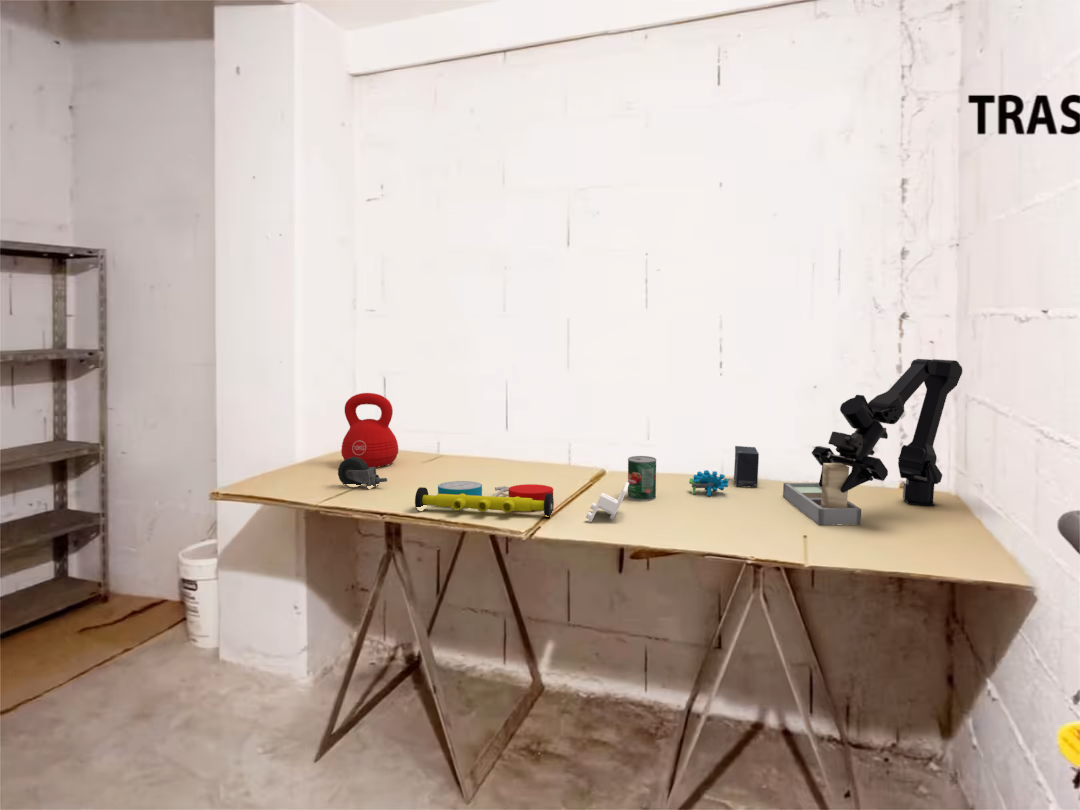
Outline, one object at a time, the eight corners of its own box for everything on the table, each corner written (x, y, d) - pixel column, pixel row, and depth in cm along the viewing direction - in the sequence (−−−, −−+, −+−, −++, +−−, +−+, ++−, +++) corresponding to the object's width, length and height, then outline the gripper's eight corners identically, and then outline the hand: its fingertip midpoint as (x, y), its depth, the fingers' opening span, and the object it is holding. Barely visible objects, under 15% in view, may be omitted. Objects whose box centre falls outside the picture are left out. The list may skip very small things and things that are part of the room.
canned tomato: (661, 496, 194) (662, 458, 193) (645, 502, 188) (645, 463, 187) (638, 491, 200) (638, 454, 198) (621, 497, 194) (622, 459, 192)
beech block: (821, 505, 173) (823, 463, 172) (839, 505, 173) (841, 463, 172) (828, 511, 169) (830, 467, 167) (846, 511, 169) (849, 467, 167)
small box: (758, 488, 203) (759, 453, 202) (735, 487, 204) (736, 452, 203) (754, 479, 213) (756, 446, 212) (733, 478, 215) (734, 445, 213)
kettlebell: (332, 470, 230) (328, 395, 227) (355, 458, 248) (352, 389, 245) (386, 471, 227) (384, 396, 223) (406, 459, 245) (404, 390, 242)
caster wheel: (337, 491, 206) (383, 489, 202) (332, 460, 205) (378, 457, 201) (346, 487, 211) (391, 484, 208) (342, 456, 210) (387, 453, 207)
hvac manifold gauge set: (412, 491, 178) (444, 474, 203) (412, 515, 179) (444, 495, 203) (548, 497, 171) (564, 479, 195) (548, 522, 171) (564, 501, 196)
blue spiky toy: (733, 487, 198) (723, 467, 191) (730, 504, 194) (721, 485, 188) (695, 487, 203) (685, 468, 197) (693, 505, 200) (682, 486, 193)
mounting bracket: (607, 532, 170) (625, 494, 168) (584, 520, 171) (602, 482, 168) (612, 517, 181) (629, 482, 179) (590, 507, 182) (607, 471, 180)
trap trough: (783, 496, 193) (783, 482, 193) (818, 496, 193) (819, 482, 193) (819, 525, 167) (819, 509, 167) (860, 525, 167) (861, 509, 167)
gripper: (818, 415, 178) (785, 461, 175) (883, 425, 162) (848, 476, 158) (837, 442, 183) (806, 487, 179) (902, 454, 166) (869, 505, 163)
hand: (830, 488), depth 170 cm, fingers closed on beech block, 6 cm apart
